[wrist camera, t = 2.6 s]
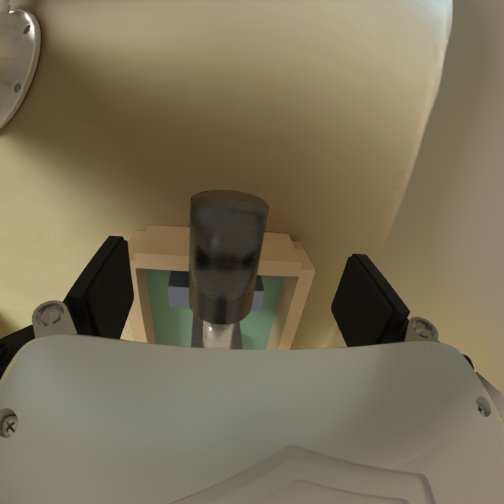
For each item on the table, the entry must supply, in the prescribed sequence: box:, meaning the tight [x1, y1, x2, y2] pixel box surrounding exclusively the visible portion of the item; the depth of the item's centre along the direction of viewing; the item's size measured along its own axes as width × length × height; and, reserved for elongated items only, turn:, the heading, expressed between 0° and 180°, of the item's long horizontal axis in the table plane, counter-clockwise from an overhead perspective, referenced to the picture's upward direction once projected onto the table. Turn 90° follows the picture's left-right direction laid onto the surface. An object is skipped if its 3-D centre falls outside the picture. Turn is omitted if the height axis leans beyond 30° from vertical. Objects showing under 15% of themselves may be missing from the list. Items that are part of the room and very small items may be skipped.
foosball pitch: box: [128, 225, 316, 350], centre depth 26 cm, size 26×14×6 cm, turn 173°
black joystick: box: [168, 190, 269, 350], centre depth 15 cm, size 12×7×12 cm, turn 173°
